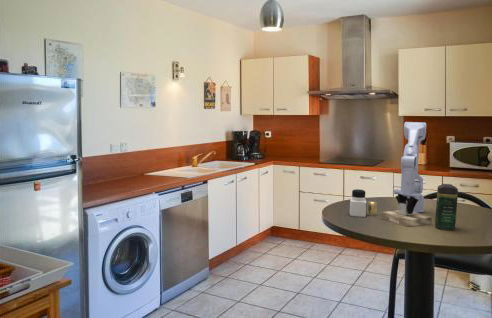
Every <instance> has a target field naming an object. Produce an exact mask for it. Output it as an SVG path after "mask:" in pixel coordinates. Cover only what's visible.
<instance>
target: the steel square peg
mask: <svg viewBox="0 0 492 318" xmlns="http://www.w3.org/2000/svg"><path fill="white" fill-rule="evenodd" d="M398 210H399V215H403V216H412V214H408V204H407V202H402V203H399V204H398Z"/></svg>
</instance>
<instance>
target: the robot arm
mask: <svg viewBox="0 0 492 318" xmlns="http://www.w3.org/2000/svg"><path fill="white" fill-rule="evenodd" d="M426 134H427V123H426V122H421V121H420V122H418V121H415V122H414V121H405V122H404V125H403V135H404V137H405V138H404V139H405V140H407V143H406V144H405V146H404V149H403V156H401V158H400V159H401V160H400V169H401V170H400V171H401V176H400V177H401V179H400V181H401V182H400V189H393V195H396V196H395V199H396V200H397V203H398V205H399V203H402V202H407V204H408V214H412V213H413V212H414V213H418V214H420V213H425V210H424V205H425V204H424V203H425V198H424V195H423V194H422V193H423V190H424V179H423V177H422V176H421V175H420V174H419V173H418V171H419V169H418V168H419V158H420V157H419V156H420V145H421V142H422V141H424V140H425V138H426Z"/></svg>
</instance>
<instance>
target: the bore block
mask: <svg viewBox="0 0 492 318" xmlns="http://www.w3.org/2000/svg"><path fill="white" fill-rule="evenodd" d="M380 219H381V220H384V221H388V222H392V223H395V224H398V225H401V226H403V227H407V228H409V227H411V228H412V227H417V226H425V225H426V226H427V225H431V224H432V222H433V221H432V219H433V217H432V216H429V215H426V214H422V213H414V212H413V213H412V216H403V215H399V209H397V210H388V211H381V213H380Z"/></svg>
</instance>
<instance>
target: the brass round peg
mask: <svg viewBox="0 0 492 318" xmlns="http://www.w3.org/2000/svg"><path fill="white" fill-rule="evenodd" d="M377 208H378V202H377V201H374V200H373V201H371V200H369V201H367V215H368V216H372V215H375V216H377V210H378V209H377Z"/></svg>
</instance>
